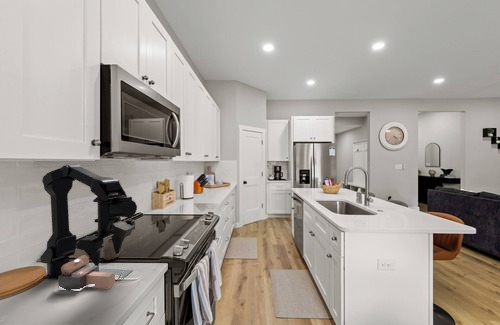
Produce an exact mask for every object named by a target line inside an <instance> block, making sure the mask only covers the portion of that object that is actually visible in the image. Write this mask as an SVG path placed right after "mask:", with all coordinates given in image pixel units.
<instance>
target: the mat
mask: <svg viewBox="0 0 500 325" xmlns="http://www.w3.org/2000/svg"><path fill="white" fill-rule="evenodd" d="M122 271H125V272H124V274H122V277H121V279H122V278H123V279H125V278H126V277H128V276H129V275H130V274H131V273H133V272H134V270H132V269H121V268H120V269H119V268H100V269H99V272H108V273H115V275H120V273H121V272H122ZM124 277H125V278H124ZM121 279H118V280H117V281H116V282H120V281H122V280H123V279H122V280H121Z"/></svg>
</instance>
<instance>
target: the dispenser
mask: <svg viewBox="0 0 500 325" xmlns="http://www.w3.org/2000/svg"><path fill="white" fill-rule="evenodd" d="M69 261H70V260H69ZM90 271H92V272H99V271H100V264H99V265H98V266H95V265H94V263H93V262H90V257H89V256H88V255H87V254H86V255H85V254H84V255H83V254H82V255H81V256H80V255H79V257H76V258H75V259H72V260H71V261H70V262H68V263H66V264H64V265H63V266H62V267H61V272H62V274H61V275H60V276H58V279H57V280H58V283H57V284H58V287H59V286H60V287H62V288H64V289H66V290H71V289H80V288H83V287H84V286H86V273H88V272H90Z"/></svg>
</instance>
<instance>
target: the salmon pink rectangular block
mask: <svg viewBox="0 0 500 325" xmlns="http://www.w3.org/2000/svg"><path fill="white" fill-rule="evenodd" d="M115 282H116V281H115V273H108V272H92V271H90V272H88V273H86V285H88V284H95V286H94V287H93V289H96V288H97V289H108V290H109V289H110V288H112V287H114V286H115Z"/></svg>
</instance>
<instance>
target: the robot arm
mask: <svg viewBox="0 0 500 325" xmlns="http://www.w3.org/2000/svg"><path fill="white" fill-rule="evenodd" d="M75 181H78V182H80V183H81V184H83V185H86V186H88V187H89V188H90V192H91V193H93V195H95V196H96V197H95V198H94V199H93V200H92V202H93V203H97V218H95V219H94V223H97V230H95V231H94V235H88V236H85V237H83V238H80V239H79V240H78V241H77V235H76V234H73V233H72V232H71V231H70V218H69V217H70V216H69V215H70V214H69V200H68V199H69V198H68V197H69V196H68V195H69V193H70V191H71V189H72V188H73V184H74V182H75ZM41 182H42V184H43V188H44V191H45V192H46V193H47V194H49V197H50V210H51V211H50V214H51V232H52V234H51V235H50V236H49V239H48V240H47V242H46V249H45V250H44V251H43V252H42V254H41V255H40V257H39V258H40V262H41V263H42V264H46V274H45V275H43V276H42V279H48V280H49V279H51V280H53V279H54V280H58V276H60V275H61V274H62V272H61V267H62V266H63V265H64V264H66V263H68V262H70V257H71V256H74V255H75V253H76V249H77V250H81V251H84V252H85V254H86V255H87V257H88V258H89V260H90V261H91V263H94V265H95V266H98V265H99V266H100V261H101V251H102V249H103V247H104V245H103V244H105V243H104V241H105V240H106V239H109V238H110V237H111V238H112V242H113V246H114V250H115V253H116V254H118V253H119V251H120V252H121V248H122V245H123V242H124V240H125V239H126V238H127V237H128V236H129V237H130V236H131V235H132V232H133V231H134V230H136V227H135V226H136V223H135V220H134V219H129V220H127V221H122V220H121V219H122V218H132V217H133V216H134V215H135V214H136V213H137V210H138V205H137V203H136V202H135V201H134V200H133V197H132V196H128V195H127V194H126V191H125V190H124V188H123V187H122V185H121V182H120V181H119V179H117V178H113V177H108V176H107V177H106V176H102V175H98V174H96V173H95V172H92V171H90V170H88V169H86V168H84V167H82V166H81V165H80V164H66V165H65V164H64V165H63V166H61V167H60V168H59V167H58V168H57V169H53V170H51V171H49V172H47V173H46V174H44V176H42V181H41ZM119 254H120V253H119Z"/></svg>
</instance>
